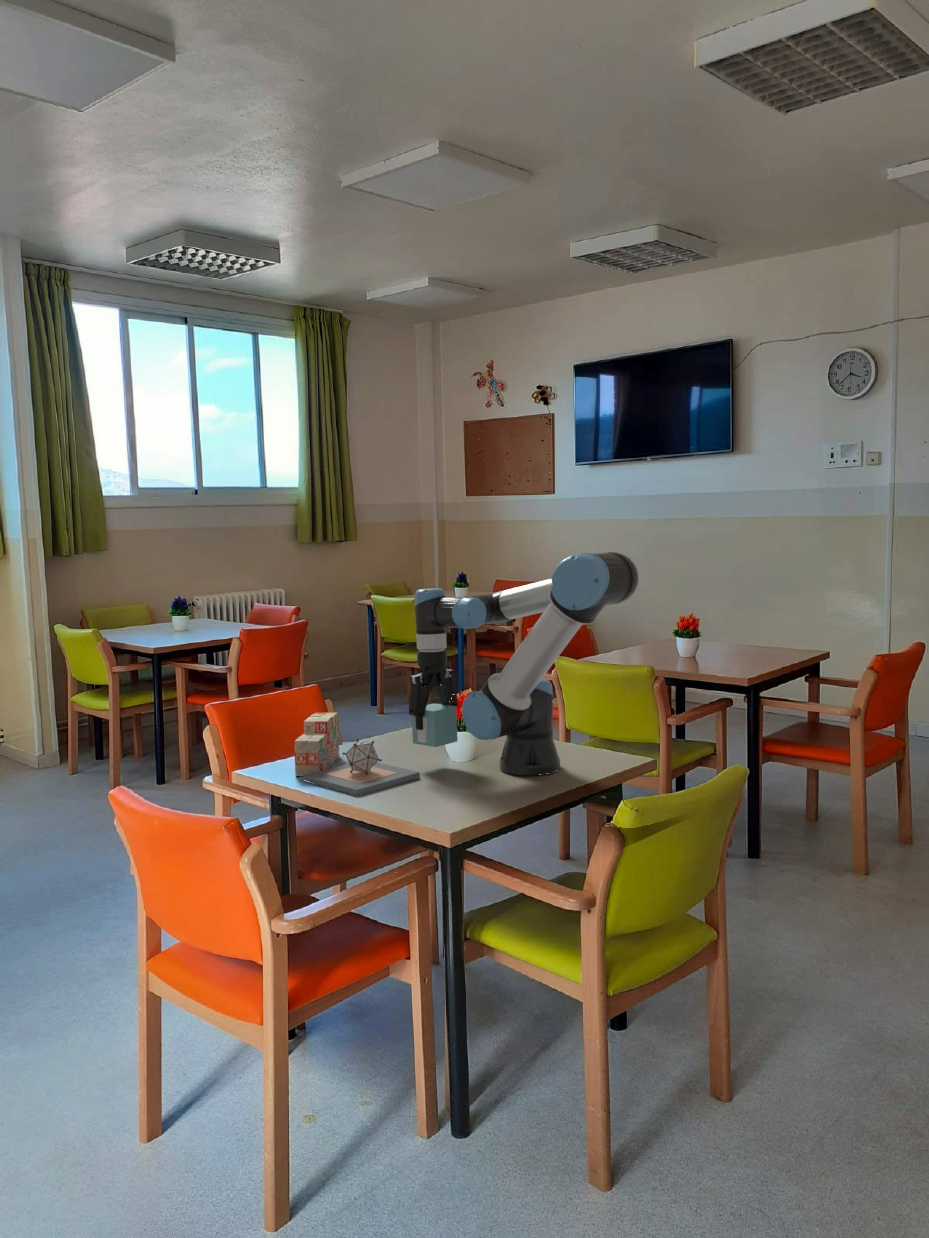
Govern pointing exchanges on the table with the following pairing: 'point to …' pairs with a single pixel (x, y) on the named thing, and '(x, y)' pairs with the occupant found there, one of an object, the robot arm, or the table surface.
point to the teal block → (438, 725)
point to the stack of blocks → (317, 744)
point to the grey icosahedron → (362, 757)
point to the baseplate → (361, 778)
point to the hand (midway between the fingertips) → (435, 738)
